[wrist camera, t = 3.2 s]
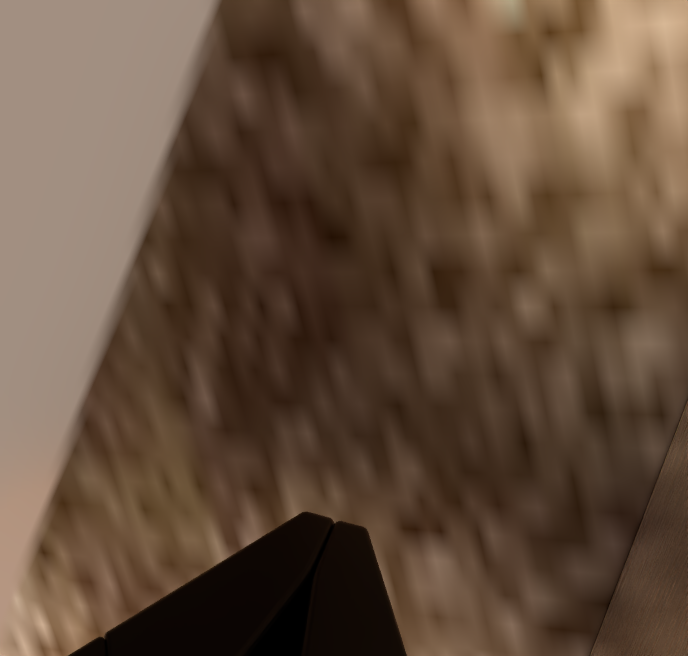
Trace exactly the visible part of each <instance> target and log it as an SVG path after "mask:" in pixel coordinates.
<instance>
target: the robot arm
mask: <svg viewBox="0 0 688 656" xmlns="http://www.w3.org/2000/svg"><path fill="white" fill-rule="evenodd" d="M68 656H407V654H406V651H405V648H404V644H403V641H402V638H401V635H400V632H399V629H398V625H397V622H396V619H395V616H394V613H393V609H392V606H391V603H390V600H389V597H388V594H387V590H386V587H385V584H384V581H383V578H382V574H381V571H380V568H379V565H378V562H377V558H376V555H375V552H374V549H373V546H372V543H371V539H370V536H369V533H368V531H367V529H366V528H364V527H361V526H357V525H354V524H350V523H346V522H343V521H338V522H336V523H335V524H334V521H333V520H332V519H331V518H328V517H325V516H321V515H317V514H314V513H310V512H302V513H300V514H299V515H297V516H296V517H294V518H292V519H291V520H289V521H287V522H286V523H284V524H282V525H281V526H279V527H278V528H276V529H274V530H273V531H271V532H269V533H268V534H266V535H265V536H263V537H261V538H260V539H258V540H256V541H255V542H253V543H251V544H250V545H248V546H247V547H245V548H243V549H242V550H240V551H238V552H237V553H235V554H234V555H232V556H230V557H229V558H227V559H225V560H224V561H222V562H220V563H219V564H217V565H216V566H214V567H212V568H211V569H209V570H207V571H206V572H204V573H203V574H201V575H199V576H198V577H196V578H194V579H193V580H191V581H190V582H188V583H186V584H185V585H183V586H181V587H180V588H178V589H176V590H175V591H173V592H172V593H170V594H168V595H167V596H165V597H163V598H162V599H160V600H159V601H157V602H155V603H154V604H152V605H150V606H149V607H147V608H145V609H144V610H142V611H141V612H139V613H137V614H136V615H134V616H132V617H131V618H129V619H128V620H126V621H124V622H123V623H121V624H119V625H118V626H116V627H114V628H113V629H111V630H110V631H108V632H107V633H106V634H105V636H104V638H103V637H98V638H96V639H94V640H93V641H91V642H89V643H88V644H86V645H85V646H83V647H81V648H80V649H78V650H76V651H75V652H73V653H72V654H70V655H68Z"/></svg>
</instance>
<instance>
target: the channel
mask: <svg viewBox="0 0 688 656" xmlns="http://www.w3.org/2000/svg"><path fill="white" fill-rule="evenodd" d="M590 656H688V401H687V404H686V407H685V409H684V412H683V414H682V417H681V420H680V422H679V425H678V427H677V430H676V433H675V435H674V438H673V441H672V443H671V446H670V448H669V451H668V454H667V456H666V459H665V461H664V464H663V467H662V469H661V472H660V474H659V477H658V480H657V482H656V485H655V488H654V490H653V493H652V495H651V498H650V501H649V503H648V506H647V508H646V511H645V514H644V516H643V519H642V521H641V524H640V527H639V529H638V532H637V535H636V537H635V540H634V542H633V545H632V548H631V550H630V553H629V555H628V558H627V561H626V563H625V566H624V568H623V571H622V574H621V576H620V579H619V581H618V584H617V587H616V589H615V592H614V595H613V597H612V600H611V602H610V605H609V608H608V610H607V613H606V615H605V618H604V621H603V623H602V626H601V628H600V631H599V634H598V636H597V639H596V642H595V644H594V647H593V649H592V652H591V655H590Z"/></svg>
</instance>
